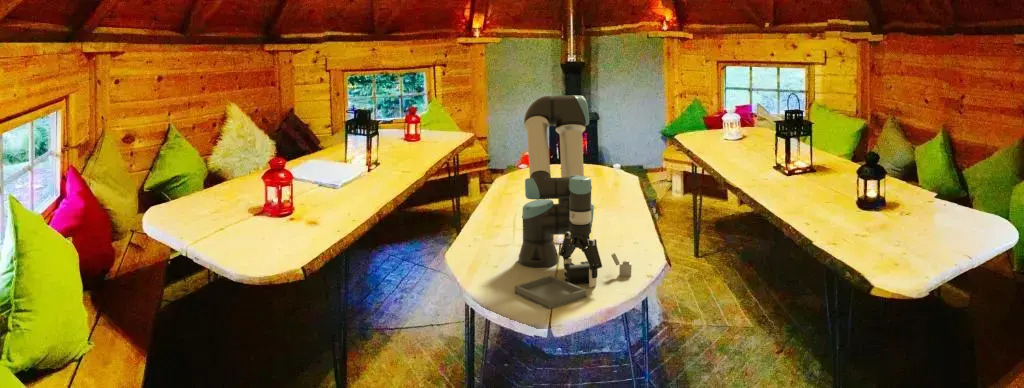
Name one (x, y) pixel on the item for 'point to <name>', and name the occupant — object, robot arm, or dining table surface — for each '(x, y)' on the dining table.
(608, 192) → the dining table surface
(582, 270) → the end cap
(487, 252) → the dining table surface
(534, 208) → the robot arm
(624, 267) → the lighter
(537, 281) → the seat tray
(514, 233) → the dining table surface
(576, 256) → the dining table surface
